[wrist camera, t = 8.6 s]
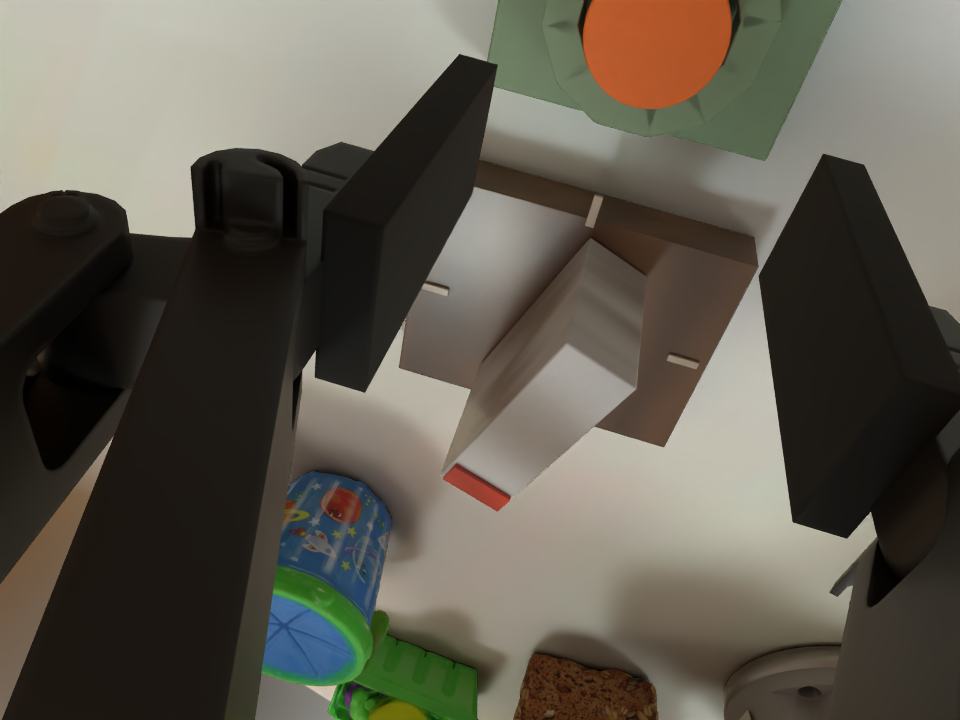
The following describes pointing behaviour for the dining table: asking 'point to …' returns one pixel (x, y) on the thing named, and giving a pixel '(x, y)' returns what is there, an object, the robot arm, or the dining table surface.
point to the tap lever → (550, 377)
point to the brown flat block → (543, 255)
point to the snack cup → (327, 582)
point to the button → (655, 48)
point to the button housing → (703, 117)
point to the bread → (582, 693)
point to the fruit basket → (408, 687)
